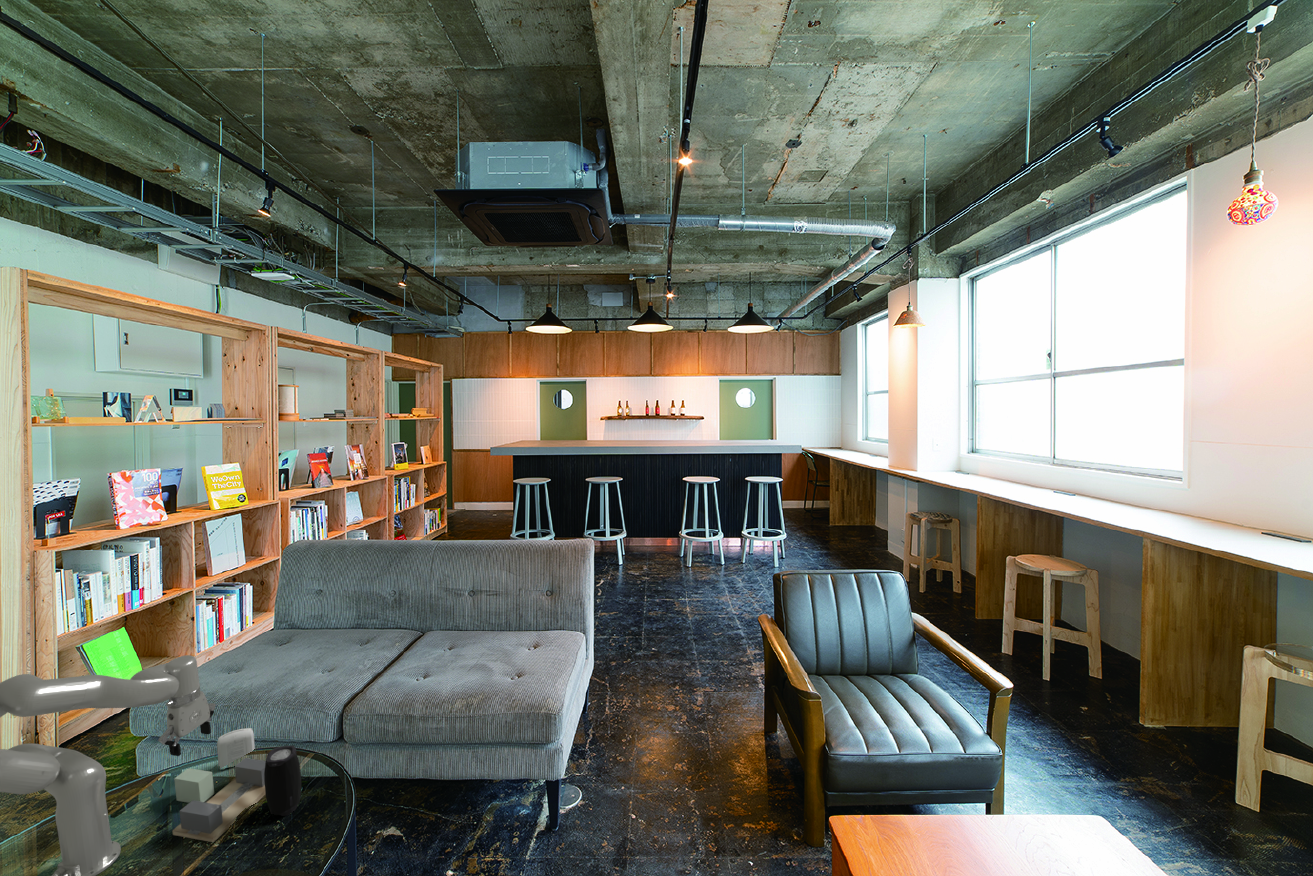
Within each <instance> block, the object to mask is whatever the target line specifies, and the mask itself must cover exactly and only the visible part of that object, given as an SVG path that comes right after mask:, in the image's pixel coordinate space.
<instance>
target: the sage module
mask: <svg viewBox="0 0 1313 876" xmlns="http://www.w3.org/2000/svg"><path fill="white" fill-rule="evenodd" d="M213 778H214V777H213V772H212V771H207V770H203V769H197V768H196V769H195V768H192V767H191V768H190V767H189V768H188V767H187V769H185V770H183V771H182V772H181V773H180V774H178V775H177V776H176V777H174V778H173V780H174V788H175V796H176V797H175V798H176V801H178V802H182V803H183V802H184V803H187V804H189V803H190V802H191V801H193V800H194V801H200V802H207V801H208V800H209V799H211V798H212V797H213V795H214V794H215V789H214V786H215V785H214V779H213Z"/></svg>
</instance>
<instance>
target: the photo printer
mask: <svg viewBox="0 0 1313 876" xmlns="http://www.w3.org/2000/svg"><path fill="white" fill-rule="evenodd" d="M255 747H256V746H255V734H254V730H253V728H252V727H251V728H250V727H248V728H247V727H246V728H245V727H244V728H240V729H239V728H238V729H235V730H231V731H229V732H226V733H225V734H223V735H221V736H220V735H219V737H218V740H217V742H216V750H217V751H216V752H217V761H218V762H217V763H218V767H219V766H220V768H222V767H224V766H226V765H228V764H229V763H231V762H233V761H234V760H236V759H238V758H241V757H243V756H244V755H246V754H248V753H250V752H252V751H253V750H254V749H255V750H256V748H255Z"/></svg>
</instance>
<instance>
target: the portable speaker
mask: <svg viewBox="0 0 1313 876" xmlns="http://www.w3.org/2000/svg"><path fill="white" fill-rule="evenodd" d="M265 761H266V763H265V771H264V783H265V793H266V794H265V799H266V802H267V805H268V809H269V812H270V815H271V814H274V815H273V816H282V817H287V816H289V815H291V814H293V813H294V812H295V811H296V810H297V809H298V808H297V807H298V805H299V804H300V802H301V795H302V773H301V764H300V763H301V762H300V760H299V757H298V754H297V748H296V746H294V745H282V746H276V747H275V748H272V749H271V750H270V751H269V752H268V753H267V755H266V758H265ZM293 811H294V812H293ZM290 813H291V814H290Z"/></svg>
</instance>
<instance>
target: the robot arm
mask: <svg viewBox="0 0 1313 876" xmlns="http://www.w3.org/2000/svg"><path fill="white" fill-rule="evenodd" d="M166 701H167V702H166ZM164 702H166V703H165V706H167V710H166V711H167V712H166V729H165V731H164V732H163V733H162V734H161V736H160V737H159V738H158V739H157V741H158V742H159V743H160V744H161V745H163V746H168V748H169V755H171V756H175V757H180V756H181V755H182V750H181V744H180V743H179V741H180V739H181V738H183V737H185V736H187V735H188V734H190V733H192V732H193V731H194V730H195V729H197V728H198V727H199V729H200V730H199V731H200V734H202V735H210V734H211V733H212V732H211V730H212V729H211V721H212V719H213V718H212V717H213V715H214V713H215V709H216V705H217V704H216V703H213V702H212V703H210V702H208V699H207V697H206V694H205V693H204V691H202V690H201V685H200V677H199V668H198V662H197V658H196V657H195V656H193V655H190V654H188V655H182V656H181V655H180V656H177V657H175V658H172V659H171V660H169V661H167V662H165V663H161V664H157V665H154V666H150V667H148V668H145V669H142V670H140V671H138V672H136V673H134V674H133V675H132V677H131V678H130V679H128V678H127V679H126V678H121V677H120V678H119V677H114V676H109V675H105V674H104V675H103V674H102V675H101V674H89V675H88V674H87V675H80V676H70V677H58V678H51V679H50V678H49V679H43V678H40V677H38V676H36V675H35V674H31V673H22V674H18V675H15V676H12V677H10V678H7V679H5V680H3V681H1V682H0V718H2V717H3V716H5V715H6V714H8V713H9V714H10V715H12V716H15V717H18V718H19V717H21V718H27V717H35V716H42V715H43V716H44V715H48V714H55V713H56V714H57V713H62V712H63V713H64V712H69V711H77V710H86V709H129V708H130V709H131V708H139V707H147V706H151V705H152V706H153V705H157V704H162V703H164ZM105 769H106V768H104V766H103V765H102V764H101V763H100V762H98V761H97V760H96V759H94V758H92V757H90V756H87V755H86V754H84V753H82V752H80V751H77V750H75V749H72V748H65V747H64V748H63V747H58V746H52V745H47V744H39V743H22V744H18V745H15V746H12V747H10V748H8V749H5V748H0V793H7V794H8V793H9V794H14V795H15V794H16V795H28V794H29V795H30V794H33V793H37V792H39V791H46V792H48V793H49V794H50V795H51V796H52V797H53V798H54V799H55V801H56V802H55V803H56V806H55V807H56V809H55V812H54V813H55V815H54V816H55V824H56V829H57V835H58V842H59V849H60V854H61V861H59V862H58V864H57V869H56V870H54V871H53V874H52V875H51V876H98V875H99V874H101V873H102V872H104V871H105V870H106V869H108V868H109V867H111V866H112V865H113V864H114V862H116V861H117V859H118V857H119V856H120V855H121V844H120V843H119V842H117V841H114V840H112V835H111V828H110V821H109V813H108V806H107V805H108V804H107V797H106V783H107V782H106V781H107V774H106V773H107V772H106V770H105Z"/></svg>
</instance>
